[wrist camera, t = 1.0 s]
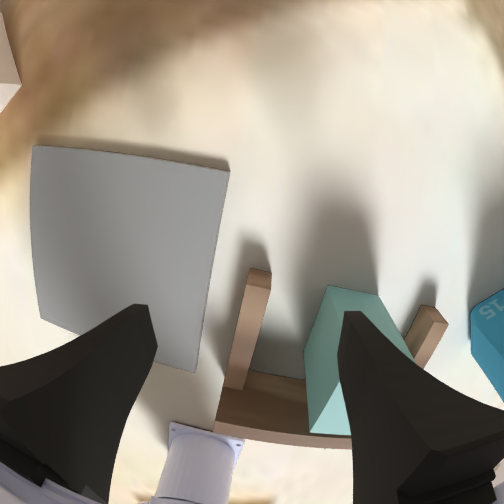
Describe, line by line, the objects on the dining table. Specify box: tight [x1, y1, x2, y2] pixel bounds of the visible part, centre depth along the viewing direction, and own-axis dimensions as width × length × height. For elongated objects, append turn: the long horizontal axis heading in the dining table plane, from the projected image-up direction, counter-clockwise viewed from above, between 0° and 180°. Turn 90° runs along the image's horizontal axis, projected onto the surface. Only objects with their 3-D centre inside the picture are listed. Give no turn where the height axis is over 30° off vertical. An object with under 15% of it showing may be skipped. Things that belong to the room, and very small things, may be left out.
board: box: [30, 145, 230, 373], centre depth 21 cm, size 16×16×1 cm
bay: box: [213, 268, 449, 449], centre depth 19 cm, size 10×15×6 cm
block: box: [303, 285, 415, 435], centre depth 18 cm, size 6×4×8 cm, turn 168°
